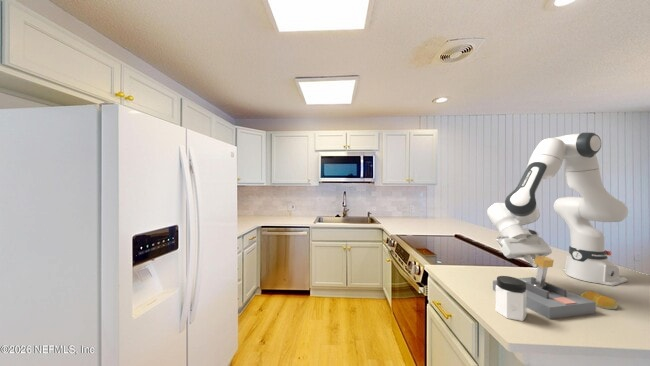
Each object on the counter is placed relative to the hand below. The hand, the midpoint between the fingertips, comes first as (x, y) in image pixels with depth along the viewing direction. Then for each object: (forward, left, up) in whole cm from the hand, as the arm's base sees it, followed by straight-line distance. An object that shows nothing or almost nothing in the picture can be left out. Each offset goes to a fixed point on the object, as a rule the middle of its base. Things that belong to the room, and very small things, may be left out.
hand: (538, 266), depth 93 cm
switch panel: (0, 0, -13) cm, 13 cm away
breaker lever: (0, 0, -9) cm, 9 cm away
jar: (+20, +6, -14) cm, 25 cm away
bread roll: (-20, +6, -14) cm, 25 cm away
